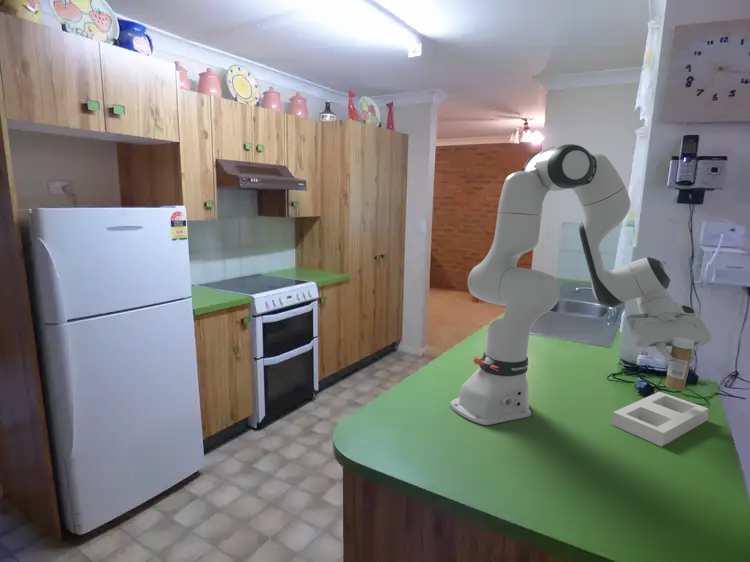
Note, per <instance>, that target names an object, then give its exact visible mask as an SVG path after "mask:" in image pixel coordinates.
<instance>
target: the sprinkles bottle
mask: <svg viewBox="0 0 750 562" xmlns="http://www.w3.org/2000/svg"><path fill="white" fill-rule="evenodd" d="M693 345H694V341H692V340H690V339H687V338H682V337H674V338H673V341H672V346H671V351H670V353H674V356H675V357H676V359H675V360H673V361H668V367H667V371H666V379H665V383H664V385H665V387H667V388H669V389H671V390H674V391H678V392H679V391H680V392H681V391H685V390H686V384H687V383H686V382H687V378H688V373H689V369H690V367H689V366H690V362H691V361H690V356H691V351H692V349H693Z"/></svg>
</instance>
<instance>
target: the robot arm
mask: <svg viewBox="0 0 750 562" xmlns="http://www.w3.org/2000/svg"><path fill="white" fill-rule="evenodd" d="M567 189H571V190H573V192H574V193H575V195H577V198H578V201H579V203H580V204H581V207H582V209H583V220H582V222H581V223H580V224H579V227H578V228H579V229H578V232H579V237H580V241H581V246H582V249H583V254H584V256H585V260H586V265H587V269H588V271H589V274H590V278H591V279H590V281H591V289H592V290H591V291H592V294H593V296H594V298H595V300H596V301H597V302H598V303H599V304H600V305H602V306H605V307H609V308H615V307H617V306H619V305H622V304H624V303H625V302H628V301H631V300H635V302H636V303H637V310H638V312H639V313H638V314H635V313H632V314H631V313H630V314H629V315H627V317H626V322H627V325H628V327H629V331H630V336H631V339H632V342H633V344H634V345H636V347H639V348H647V347H648V348H649V347H650V348H653V347H655V348H656V351H658V352H659V353H660V354H661V355H662V356H663V357H664V358H665V361H666V362H669V361H673V360H675V359H676V357H675V356H674V353H671V351H670V350H668V348H667V347H672V341H673V338H674V337H682V338H687V339H690V340H692V341H694V345H693V349H692V351H691V356H690V362H694V361H695V360H697V357H696V356H697V355H696V354H695V348H696V347H703V346H706V345H707V344H709V343H710V342H711V340H712V336H711V333H710V331H709V329H708V327H707V326H706V324H705V323H704V321H703V320H702V318H700V317H699V316H697V315H698V310H697V309H696V308H695V307H693V306H689V305H686V304H682V303H679V302H678V301H674V299H673V296H671V295H670V294H669V292H668V288H669V286H670V283H671V279H670V277H669V275H668V274H667V273H666V271H665V267H664V265H663V263H662V261H661V260H659V259H656V258H654V257H650V256H649V257H648V256H647V257H642V258H639V259H636V260H634V261H631V262H628V263H627V264H624V265H621V266H618V267H615V268H613V269H610V270H606V269H605V267H604V263H603V259H602V256H601V251H600V245H601V243H602V241H603V240H604V238H605V237H606V236H608V235H609V233H611V232H612V231H614V229H615V228H617V227H618V226H619V225H620V224H621V223H622V222H623V221H624V219H625V218H626V216H627V215H628V213H629V211H630V208H631V199H630V196H629V192H628V190H627V188H626V185H625V184H624V182H623V180H622V178H621V176H620V174H619V173H618V171H617V169H616V167H615V166H614V165H613V163H612V162H611V161H610V160H609V158H607V156H606V155H603V154H601V153H593V154H591V153H590V151H589V150H588V149H586V148H585V147H583V146H581V145H578V144H571V143H569V144H563V145H560V146H552V147H549V148H545V149H544V150H542V151H538V152H536V153H534V154H533V155H532V156H530V157H529V158H528V159H527V161H526V162H525V163H524V164H523V167H522V168H521V170H518V171H515V172H513V173H510V174H509V175H508V176H506V178H505V180H504V183H503V185H502V190H501V191H500V192H501V193H500V197H499V202H498V206H497V208H498V209H497V216H496V223H495V230H494V231H495V232H494V236H493V237H494V238H493V241H492V244H491V247H490V250H489V251H488V252H487V255H486V256H485V258H483V260H481V262H479V263H478V264H477V265H475V266H474V267H473V268H472V269H471V271H470V272H469V274H468V277H467V288H468V289H467V290H468V291H469V293H470V294H471V296H473V297H475V298H476V299H479V300H481V301H483V302H486V303H489V304H494V305H497V306H502V307H505V309H504V310H505V311H504V315H503V317H501V318H498V319H495V320H494V321H492V322H491V323H490V324H489V325H488V326H487V329H486V337H485V351H484V353H483V354H482V357H481V358H480V357H479V356H475V357H474V358H473V363H474V364H475V365H478V366H479V367H478V368H477V369H476V371H474V373H472V375H470V377H469V378H467V380H465V382H463V384H462V385H461V388H460V390H459V391H460V392H459V396H458V397H456V398H454V399H452V400H451V401H450V402H449V403H450V407H451V408H452V410H453V411H455V413H457V414H459V415H460V416H462V417H463V418H465V419H468V420H469V421H471V422H474V423H476V424H479V425H484V426H490V425H494V424H495V425H496V424H499V423H504V422H508V421H509V422H510V421H514V420H519V419H524V418H529V417H532V411H531V409H530V403H529V398H530V397H529V383H528V379H527V372H528V367H529V358H528V347H529V339H530V335H531V331H532V328H533V326H534V324H535V323H536V321H537V320H538V319H539V318H540V317H541V316H542V315H544V314H545V313H547V312H549V311H551V310H553V308H554V307H555V306H556V305H557V303H558V301H559V299H560V296H561V295H560V293H561V291H560V285H559V282H558V281H557V278H556V277H555V276H553V275H551V274H549V273H546V272H543V271H541V270H537V269H533V268H531V269H530V268H524V267H518V266H517V265H518V262H519V260H520V258H521V257H522V255H524V254H526V253H529V252H531V251H532V250H534V249H535V248H536V246H537V245H538V243H539V238H540V230H541V222H542V212H543V203H544V200H545V198H546V195H547V194H548V192H550V191H552V192H556V191H563V190H567Z"/></svg>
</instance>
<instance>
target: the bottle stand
mask: <svg viewBox="0 0 750 562" xmlns="http://www.w3.org/2000/svg"><path fill="white" fill-rule="evenodd" d="M708 413H709V408H708V407H705V406H702V405H700V404H697V403H694V402H691V401H688V400H685V399H683V398H679V397H676V396H673V395H671V394H668V393H665V392H662V391H657V392H655V393H653V394H651V395H649V396H646V397H643V398H642V399H639V400H637V401H634V402H632V403H631V404H628V405H626V406H624V407H621V408H619V409H617V410H614V411H613V412H612V419H611V423H610V424H611V425H612V426H614V427H616V428H618V429H620V430H623V431H624V432H625V431H626V432H627V433H630V434H632V435H634V436H637V437H639V438H641V439H643V440H646V441H647V442H650V443H652V444H655V445H656V446H659V447H664V446H666V445H667V444H669V443H671V442H672V441H674V440H676V439H677V438H680V437H681V436H683V435H685V434H686V433H688V432H690V431H691V430H693V429H695V428H697V427H698V426H700V425H701V424H703V423H705V422H706V421H707V420H708Z"/></svg>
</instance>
